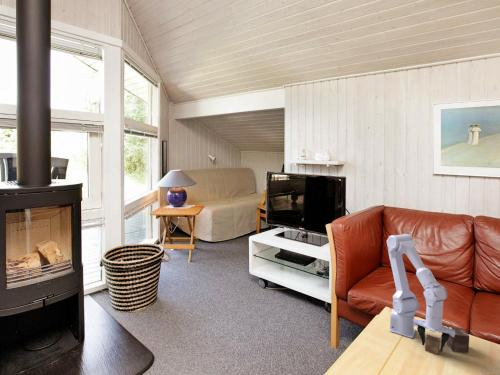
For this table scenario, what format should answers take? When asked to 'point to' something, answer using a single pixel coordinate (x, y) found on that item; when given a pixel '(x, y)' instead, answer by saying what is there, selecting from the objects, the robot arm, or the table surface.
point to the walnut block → (432, 344)
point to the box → (459, 340)
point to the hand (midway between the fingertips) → (432, 346)
